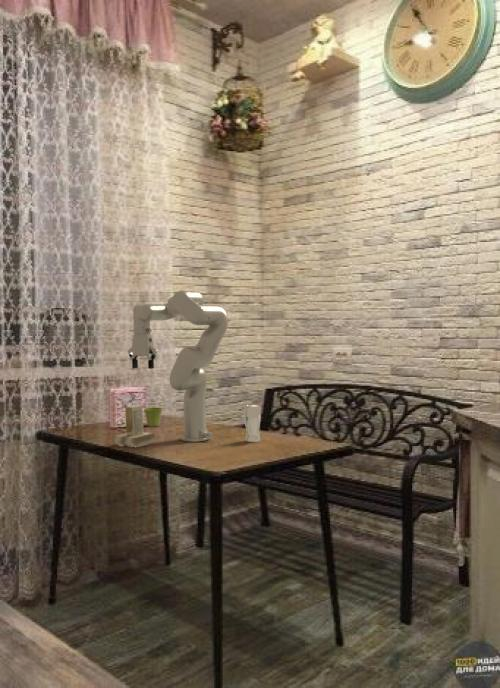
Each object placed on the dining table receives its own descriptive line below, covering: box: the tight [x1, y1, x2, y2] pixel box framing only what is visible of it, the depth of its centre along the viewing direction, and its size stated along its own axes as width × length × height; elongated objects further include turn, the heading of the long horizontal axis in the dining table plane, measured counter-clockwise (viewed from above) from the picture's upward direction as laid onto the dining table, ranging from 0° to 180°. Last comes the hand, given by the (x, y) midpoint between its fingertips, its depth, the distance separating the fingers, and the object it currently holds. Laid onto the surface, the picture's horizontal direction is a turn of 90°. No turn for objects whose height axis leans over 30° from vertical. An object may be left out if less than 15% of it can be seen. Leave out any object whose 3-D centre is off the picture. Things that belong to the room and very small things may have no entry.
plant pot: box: [143, 406, 163, 428], centre depth 300 cm, size 9×9×9 cm
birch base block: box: [113, 432, 156, 449], centre depth 253 cm, size 12×12×4 cm
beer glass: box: [243, 404, 261, 443], centre depth 253 cm, size 7×7×15 cm
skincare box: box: [124, 404, 144, 436], centre depth 253 cm, size 6×4×12 cm
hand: (143, 368), depth 279 cm, fingers open, 9 cm apart
